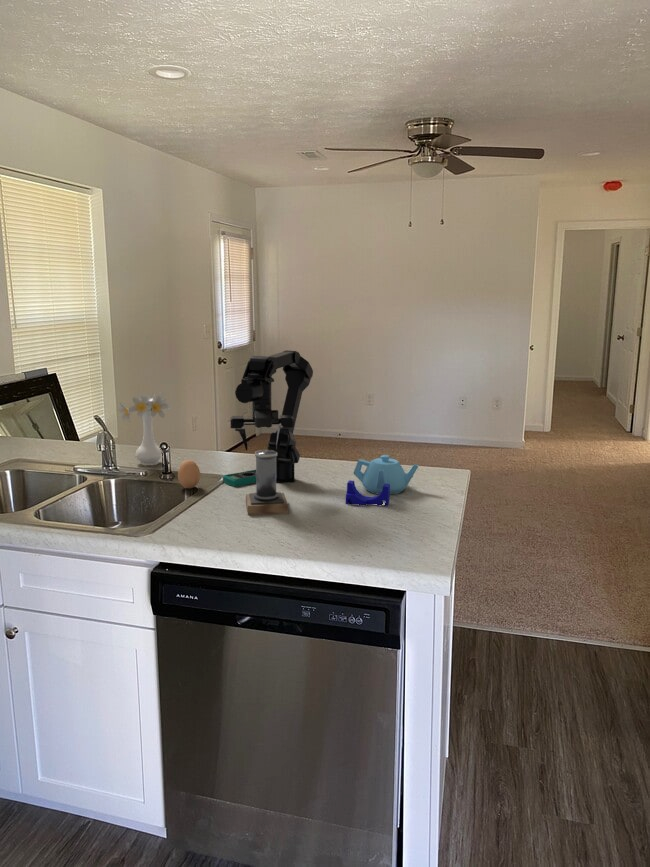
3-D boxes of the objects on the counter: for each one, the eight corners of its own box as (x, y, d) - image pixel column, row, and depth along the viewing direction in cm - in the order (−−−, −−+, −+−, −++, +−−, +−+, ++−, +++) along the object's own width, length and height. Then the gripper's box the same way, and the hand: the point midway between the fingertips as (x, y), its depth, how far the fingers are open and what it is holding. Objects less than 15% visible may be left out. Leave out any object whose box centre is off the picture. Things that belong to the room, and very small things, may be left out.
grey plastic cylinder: (271, 492, 192) (271, 448, 190) (282, 498, 187) (282, 453, 184) (250, 495, 189) (249, 451, 186) (260, 502, 183) (260, 456, 181)
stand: (283, 501, 195) (283, 491, 194) (287, 513, 184) (287, 502, 183) (245, 502, 193) (245, 492, 192) (247, 514, 182) (247, 504, 182)
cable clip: (345, 504, 193) (345, 484, 192) (348, 499, 197) (349, 480, 196) (386, 508, 190) (387, 488, 189) (389, 503, 194) (389, 483, 193)
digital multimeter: (273, 480, 217) (273, 472, 216) (233, 488, 208) (233, 479, 207) (260, 476, 223) (260, 467, 222) (221, 483, 213) (221, 474, 213)
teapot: (388, 479, 219) (389, 447, 216) (419, 491, 206) (420, 457, 204) (350, 486, 210) (351, 453, 208) (380, 499, 198) (381, 463, 196)
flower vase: (114, 466, 230) (111, 394, 225) (156, 456, 245) (153, 388, 239) (140, 472, 223) (136, 398, 217) (181, 461, 237) (179, 392, 232)
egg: (176, 486, 208) (175, 458, 206) (198, 484, 210) (197, 456, 209) (180, 492, 202) (179, 463, 200) (202, 490, 204) (201, 461, 202)
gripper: (230, 403, 189) (231, 457, 192) (296, 402, 192) (296, 455, 195) (229, 397, 199) (230, 448, 203) (291, 396, 202) (291, 446, 206)
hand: (262, 449), depth 201 cm, fingers open, 9 cm apart
